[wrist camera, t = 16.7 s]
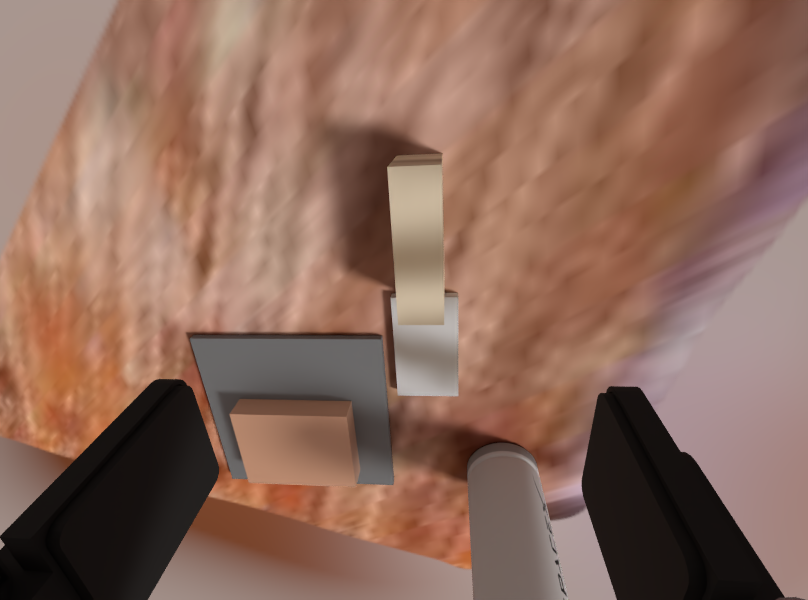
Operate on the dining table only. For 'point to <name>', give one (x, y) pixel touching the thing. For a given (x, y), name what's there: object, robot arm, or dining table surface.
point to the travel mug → (510, 528)
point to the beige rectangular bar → (421, 280)
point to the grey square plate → (301, 386)
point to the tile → (297, 441)
